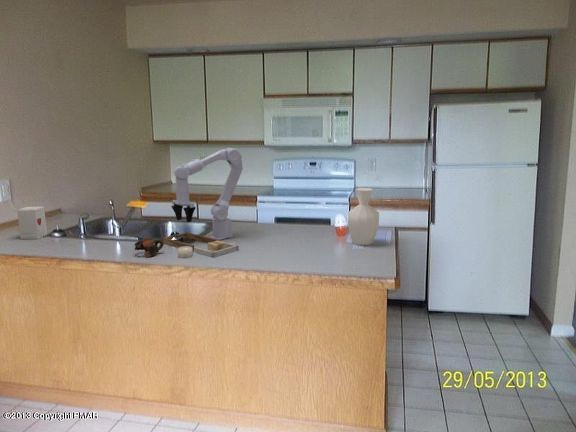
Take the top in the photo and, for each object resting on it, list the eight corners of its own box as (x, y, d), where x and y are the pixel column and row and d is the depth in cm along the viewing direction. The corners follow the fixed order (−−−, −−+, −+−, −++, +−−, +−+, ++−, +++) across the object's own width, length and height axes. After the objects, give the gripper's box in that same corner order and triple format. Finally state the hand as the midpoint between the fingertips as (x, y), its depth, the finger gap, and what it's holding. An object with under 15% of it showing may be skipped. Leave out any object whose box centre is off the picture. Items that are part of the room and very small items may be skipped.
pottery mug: (139, 260, 189) (132, 242, 190) (140, 264, 198) (133, 247, 199) (167, 249, 193) (159, 232, 194) (166, 253, 202) (159, 237, 203)
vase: (342, 244, 207) (343, 190, 202) (353, 237, 219) (354, 186, 214) (373, 248, 201) (374, 192, 195) (382, 241, 213) (384, 188, 208)
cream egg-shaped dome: (186, 253, 197) (186, 245, 197) (195, 255, 193) (195, 247, 193) (175, 256, 193) (174, 248, 192) (184, 259, 189) (183, 250, 188)
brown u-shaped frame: (187, 237, 224) (186, 232, 224) (217, 244, 210) (217, 239, 209) (162, 243, 214) (161, 238, 213) (192, 251, 199) (191, 246, 199)
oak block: (218, 249, 203) (217, 240, 202) (226, 251, 199) (226, 242, 198) (208, 251, 199) (207, 242, 199) (216, 254, 195) (215, 245, 194)
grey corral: (220, 245, 209) (220, 241, 208) (238, 249, 201) (238, 245, 201) (195, 252, 198) (194, 247, 198) (213, 257, 190) (213, 252, 190)
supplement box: (38, 239, 224) (34, 209, 221) (20, 239, 224) (16, 209, 221) (48, 234, 233) (44, 206, 230) (30, 234, 233) (27, 206, 230)
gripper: (166, 192, 214) (167, 220, 217) (185, 194, 205) (186, 224, 207) (178, 190, 219) (180, 217, 222) (197, 192, 210) (199, 221, 213)
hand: (184, 220), depth 215 cm, fingers open, 7 cm apart
